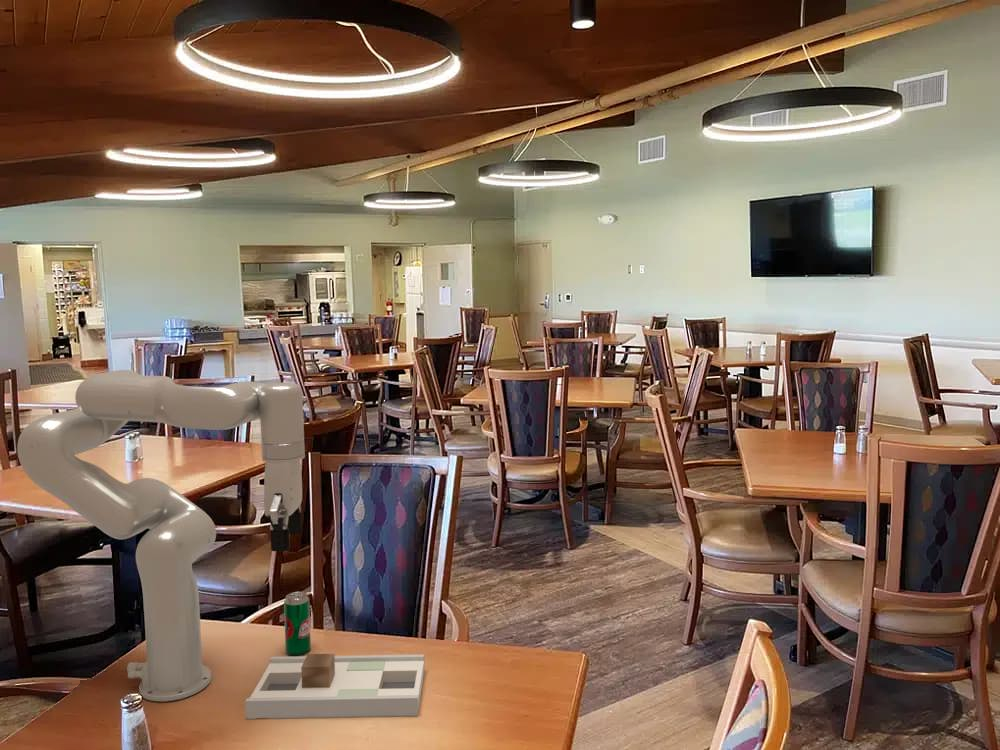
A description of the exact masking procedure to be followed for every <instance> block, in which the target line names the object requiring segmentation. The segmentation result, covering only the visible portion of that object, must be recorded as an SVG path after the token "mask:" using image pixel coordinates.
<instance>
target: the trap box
mask: <svg viewBox="0 0 1000 750" xmlns="http://www.w3.org/2000/svg"><path fill="white" fill-rule="evenodd" d="M306 657H307V655H306V656H303V655H298V656H294V655H293V656H271V657H270V658H269V664H268V666H267V667H266V669H265V671H264V673H263V674H262V676H261V677H260V680H259V682H258V683H257V685H256V686H255V688H254V690H253V692H252V694H251V695H250V697H247V698H245V699H246V700H245V719H246V720H248V719H249V720H255V719H256V718H268V719H305V718H307V719H310V718H314V719H315V718H317V719H320V718H321V719H322V718H323V719H324V718H365V717H366V718H367V717H368V718H369V717H370V718H371V717H373V718H374V717H375V718H376V717H379V718H380V717H418V716H419V709H420V703H421V702H420V701H421V696H422V689H423V684H424V682H423V681H424V677H425V669H426V668H425V654H422V653H421V654H373V655H372V654H370V655H367V654H366V655H365V654H364V655H334V659H335V675H334V677H333V680H332V683H331V685H330V688H302V672H301V667H302V665H303V663H304V661H305V659H306ZM256 720H257V719H256Z"/></svg>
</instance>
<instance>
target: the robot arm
mask: <svg viewBox="0 0 1000 750" xmlns="http://www.w3.org/2000/svg"><path fill="white" fill-rule="evenodd" d="M74 398H75V403H76V405H77V408H74V409H69V410H65V411H60V412H56V413H52V414H48V415H45V416H42V417H39V418H37V419H35V420H34V421H32V422H30V423H29V424H27V425H26V427H25V428H24V429H22V431H21V432H20V433H19V434H20V435H19V437H18V439H17V440H18V441H17V456H18V457H17V458H18V459H19V463H20V466H21V468H22V470H23V472H24V473H25V474H26V476H27V477H28V478H29V479H30V480H31V482H33V483H34V484H35V485H36V486H38V487H39V488H40V489H42V490H44V491H46V493H48V494H50V495H51V496H53V497H55V498H57V499H58V500H60V501H61V502H63V504H65V505H67V506H68V507H69V508H71V510H73V511H74V512H75V513H77V514H78V515H80V516H81V517H83V518H84V519H85V520H87V522H90V523H91V524H92V525H93V526H95V527H96V528H97V529H99V530H100V531H101V532H103V533H104V534H105V535H107V536H108V537H110V538H113V539H116V540H126V539H129V538H132V537H134V536H137V535H138V534H140V533H142V532H144V531H145V530H147V529H148V531H147V532H146V533H145V534H144V535H143V536H142V537H141V538H140V540H139V542H138V544H137V547H136V550H135V563H136V567H137V570H138V574H139V578H140V583H141V588H142V599H143V601H142V603H143V612H144V613H143V615H144V616H143V617H144V629H145V631H144V632H145V634H144V635H145V646H146V647H145V648H146V649H145V650H146V661H145V662H139V661H138V662H137V661H136V662H129V663H128V664H127V668H126V672H127V678H128V679H140V680H141V681H140V683H139V687H138V690H139V694H141V695H142V696H143V697H142V696H141V695H140V696H141V697H142V698H143V699H145V700H148V701H151V702H172V701H177V700H182V699H185V698H188V697H191V696H194V695H195V694H197V693H199V692H201V691H202V690H204V689H205V688H206V687H207V686H208V685H209V684H210V683H211V681H212V670H211V669H210V668H209V667H208V666H206V665H204V664H203V657H202V656H203V655H202V654H203V653H202V633H201V615H200V614H201V613H200V597H199V595H200V594H199V587H198V581H197V579H196V576H195V574H194V572H193V563H194V562H195V561H197V559H199V558H200V557H202V556H203V555H204V554H206V553H207V552H208V551H209V550H210V549H211V548H212V546H213V545H214V543H215V541H216V539H217V538H216V537H217V529H216V525H215V523H214V521H213V520H212V518H211V517H210V516H209V515H208V514H207V513H206V511H204V510H203V509H202V508H200V507H199V506H198V505H196V504H195V503H194V502H192V501H191V500H190V499H188V498H186V497H185V496H184V495H183V494H181V493H180V492H178V491H177V490H176V489H174V488H173V487H171V485H169V484H167V483H165V482H164V481H162V480H159V479H155V478H149V477H143V478H139V479H135V480H133V481H130V482H128V483H124V482H122V481H120V480H118V479H116V478H115V477H113V476H112V475H110V474H109V473H108V472H107V471H106V470H104V469H103V468H101V467H100V466H98V465H95V463H91V462H88V461H86V460H83V459H81V458H79V457H77V456H76V455H78V454H82V453H85V452H87V451H91V450H94V449H96V448H98V447H100V446H101V445H103V444H104V443H105V442H107V441H108V440H109V439H110V438H112V437H113V436H114V435H115V434H116V433H117V432H118V431H120V430H121V428H122V427H124V426H125V425H126V424H128V423H129V422H142V423H143V422H145V423H148V422H149V423H162V424H165V425H168V426H173V427H176V428H181V429H182V428H183V429H193V430H212V431H213V430H215V431H225V430H230V429H235V428H237V427H240V426H242V425H245V424H248V423H249V422H250V423H251V422H254V421H257V420H259V423H260V439H261V440H260V442H261V460H262V461H263V462H264V463H265V466H264V482H263V483H264V484H263V493H264V494H263V495H264V496H263V497H264V498H263V500H264V502H263V504H264V505H263V512H264V515H265V516H266V517H270V520H269V530H270V550H271V551H272V552H288V551H290V550H291V538H290V535H298V534H299V535H300V534H302V533H303V517H302V506H301V504H302V502H303V477H302V466H301V460H303V459H305V457H306V455H305V454H306V453H305V452H306V451H305V450H306V449H305V448H306V447H305V430H304V426H305V425H304V405H303V404H304V401H303V390H302V387H301V386H300V385H299V384H297V383H295V382H272V383H265V382H258V381H249V380H243V381H238V382H235V383H234V382H233V383H230V384H226V385H224V386H219V387H218V386H217V387H215V386H211V387H210V386H190V385H181V384H177V383H176V382H175V381H174V380H173V378H171V377H170V376H165V375H142V374H140V373H138V372H136V371H132V370H128V369H119V370H113V371H107V372H100V373H97V374H92V375H90V376H89V377H87V378H84V380H83V381H81V382H80V383H79V385H78V387H77V388H76V391H75V396H74Z"/></svg>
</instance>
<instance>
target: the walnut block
mask: <svg viewBox="0 0 1000 750" xmlns="http://www.w3.org/2000/svg"><path fill="white" fill-rule="evenodd" d="M306 654H307V655H306V656H307V657H306V659H305V661H304V663H303V665H302V667H301V672H302V688H330V685H331V683H332V680H333V677H334V675H335V659H334V656H335V653H306Z"/></svg>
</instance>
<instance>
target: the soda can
mask: <svg viewBox="0 0 1000 750" xmlns="http://www.w3.org/2000/svg"><path fill="white" fill-rule="evenodd" d="M283 609H284V610H283V613H284V615H283V616H284V636H285V637H284V639H285V640H284V641H285V642H284V643H285V644H284V645H285V652H286V653H287V654H288V655H290V656H293V657H294V656H297V655H298V656H303V655H305V654H308V652H309V651H310V650H311V648H312V647H311V646H312V645H311V615H310V614H311V613H310V612H311V611H310V598H309V597H308V593H307V592H304V591H295V592H290V593H288V594H286V596H285V600H283ZM302 654H303V655H302Z"/></svg>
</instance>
